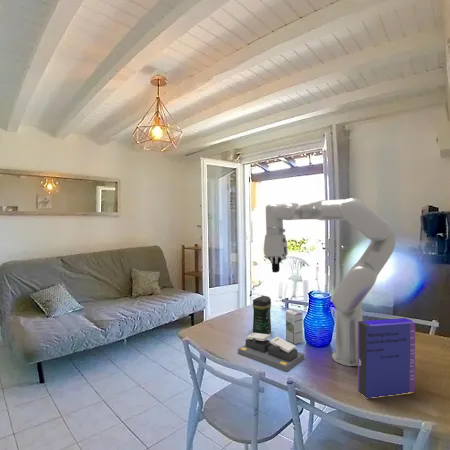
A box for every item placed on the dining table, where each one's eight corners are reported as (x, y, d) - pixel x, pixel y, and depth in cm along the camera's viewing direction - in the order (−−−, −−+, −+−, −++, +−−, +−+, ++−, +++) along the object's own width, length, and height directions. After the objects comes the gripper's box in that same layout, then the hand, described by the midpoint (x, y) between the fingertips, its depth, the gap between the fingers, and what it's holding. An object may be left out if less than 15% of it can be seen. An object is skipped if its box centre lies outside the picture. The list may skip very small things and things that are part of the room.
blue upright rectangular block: (404, 385, 107) (404, 317, 106) (414, 393, 102) (415, 322, 101) (357, 391, 104) (357, 320, 103) (366, 399, 99) (366, 325, 98)
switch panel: (304, 358, 127) (304, 342, 127) (286, 371, 117) (286, 354, 117) (257, 343, 144) (257, 328, 143) (238, 353, 133) (237, 337, 133)
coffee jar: (264, 338, 149) (264, 300, 148) (250, 334, 154) (250, 297, 153) (273, 332, 157) (273, 295, 156) (260, 328, 161) (259, 293, 161)
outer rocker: (271, 337, 133) (270, 334, 133) (263, 341, 129) (263, 338, 129) (254, 335, 139) (254, 332, 139) (246, 338, 135) (246, 336, 135)
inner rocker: (295, 348, 125) (295, 345, 125) (288, 353, 121) (288, 350, 121) (276, 338, 131) (277, 336, 131) (269, 342, 127) (269, 340, 127)
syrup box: (303, 341, 144) (303, 311, 144) (294, 344, 141) (293, 313, 141) (294, 337, 149) (294, 308, 149) (285, 340, 146) (285, 310, 146)
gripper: (293, 231, 137) (294, 272, 138) (265, 231, 147) (266, 269, 148) (284, 232, 132) (286, 274, 132) (256, 232, 142) (257, 271, 142)
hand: (275, 271), depth 140 cm, fingers closed
